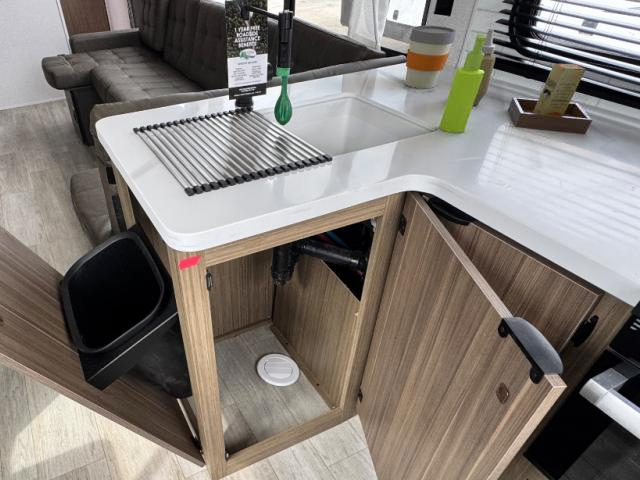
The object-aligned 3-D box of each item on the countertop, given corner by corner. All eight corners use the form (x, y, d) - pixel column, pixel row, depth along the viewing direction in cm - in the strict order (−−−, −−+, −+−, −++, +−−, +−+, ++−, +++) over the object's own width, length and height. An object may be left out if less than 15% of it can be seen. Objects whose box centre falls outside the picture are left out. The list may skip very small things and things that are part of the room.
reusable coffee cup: (391, 81, 139) (402, 27, 129) (422, 77, 143) (435, 24, 133) (417, 92, 131) (432, 34, 121) (449, 87, 134) (466, 31, 124)
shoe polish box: (540, 121, 110) (563, 68, 102) (531, 114, 113) (554, 63, 105) (560, 121, 109) (585, 69, 101) (551, 115, 113) (575, 64, 105)
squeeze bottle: (487, 107, 120) (514, 32, 108) (458, 107, 120) (482, 32, 108) (475, 98, 126) (499, 26, 114) (447, 98, 126) (469, 26, 114)
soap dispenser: (465, 125, 109) (496, 33, 96) (463, 134, 104) (496, 39, 91) (440, 121, 111) (468, 31, 98) (438, 130, 106) (466, 36, 93)
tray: (571, 116, 115) (578, 103, 113) (585, 133, 105) (592, 120, 103) (507, 110, 118) (512, 97, 116) (515, 126, 109) (520, 113, 107)
